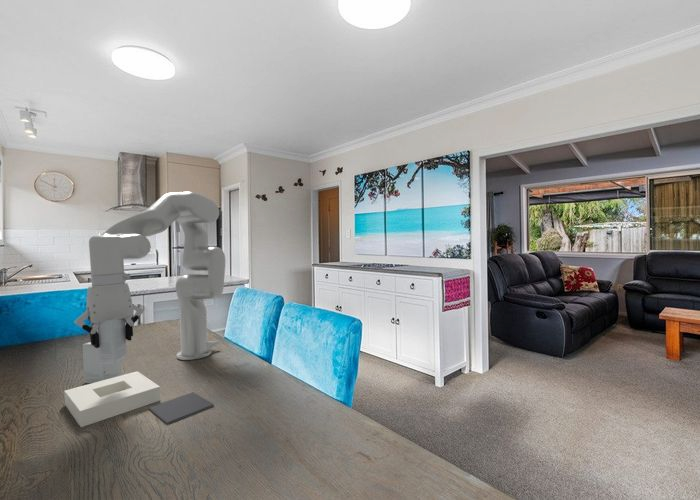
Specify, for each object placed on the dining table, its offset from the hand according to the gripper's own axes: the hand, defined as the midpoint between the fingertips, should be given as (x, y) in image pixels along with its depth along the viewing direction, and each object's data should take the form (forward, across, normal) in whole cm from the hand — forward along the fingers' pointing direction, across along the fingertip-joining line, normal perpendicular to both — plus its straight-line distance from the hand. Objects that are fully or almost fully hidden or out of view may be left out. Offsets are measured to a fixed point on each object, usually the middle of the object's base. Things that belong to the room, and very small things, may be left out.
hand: (112, 342), depth 97 cm
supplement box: (+17, -2, -21) cm, 28 cm away
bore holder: (+17, +1, +1) cm, 17 cm away
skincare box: (+5, 0, 0) cm, 5 cm away
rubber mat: (+17, -10, +19) cm, 27 cm away
